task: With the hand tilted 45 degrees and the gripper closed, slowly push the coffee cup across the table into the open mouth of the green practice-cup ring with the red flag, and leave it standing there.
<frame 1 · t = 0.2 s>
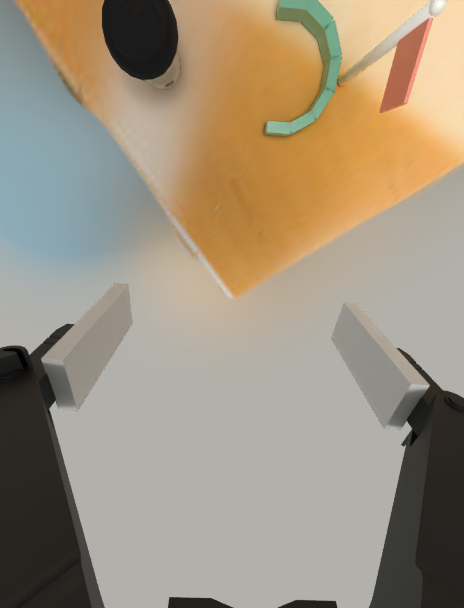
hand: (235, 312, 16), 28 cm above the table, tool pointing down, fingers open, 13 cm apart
coffee cup: (161, 66, 31), on the table
flag: (340, 81, 32), on the table
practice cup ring: (282, 76, 32), on the table
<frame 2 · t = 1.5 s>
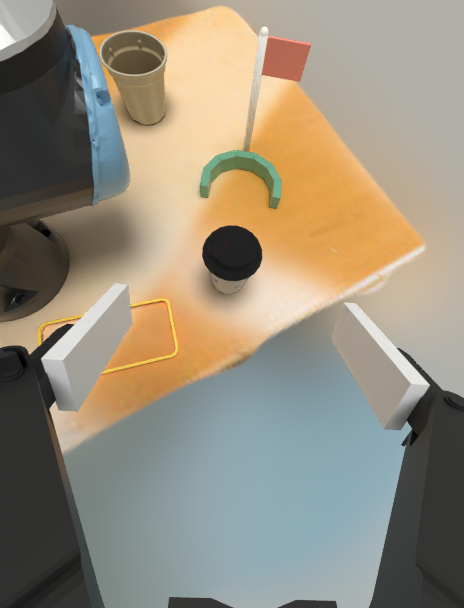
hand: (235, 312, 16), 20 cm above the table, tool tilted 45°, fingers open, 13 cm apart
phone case: (113, 340, 34), on the table
coffee cup: (228, 279, 37), on the table
flag: (244, 157, 43), on the table
flower pot: (148, 113, 45), on the table
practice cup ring: (239, 194, 41), on the table
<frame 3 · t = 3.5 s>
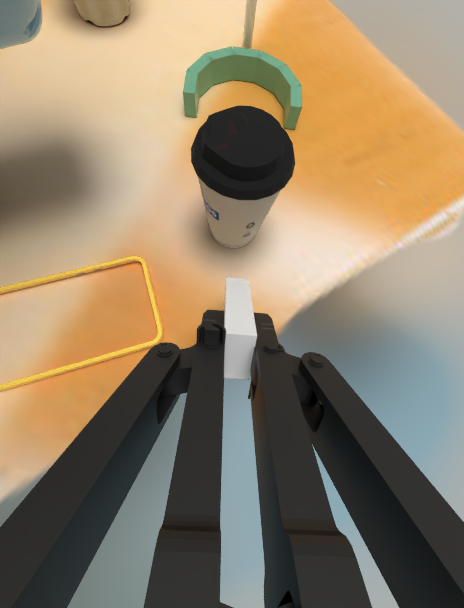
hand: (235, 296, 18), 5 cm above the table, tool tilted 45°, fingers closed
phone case: (59, 326, 22), on the table
coffee cup: (233, 228, 25), on the table
flag: (244, 66, 31), on the table
flower pot: (106, 13, 32), on the table
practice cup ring: (241, 112, 29), on the table
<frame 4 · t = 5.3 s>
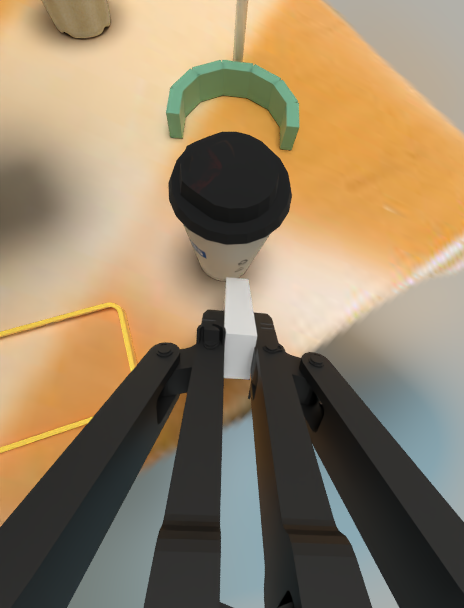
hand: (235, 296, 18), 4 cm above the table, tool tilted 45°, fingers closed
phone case: (24, 385, 19), on the table
coffee cup: (224, 257, 23), on the table, touching gripper
flag: (236, 80, 28), on the table
flower pot: (85, 24, 29), on the table
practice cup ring: (232, 132, 26), on the table
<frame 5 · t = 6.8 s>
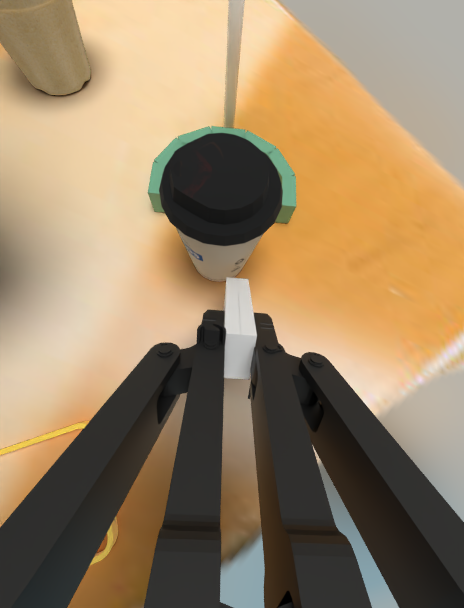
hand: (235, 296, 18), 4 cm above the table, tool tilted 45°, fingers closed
coffee cup: (218, 258, 23), on the table, touching gripper
flag: (227, 140, 26), on the table
flower pot: (63, 77, 27), on the table
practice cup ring: (223, 203, 24), on the table
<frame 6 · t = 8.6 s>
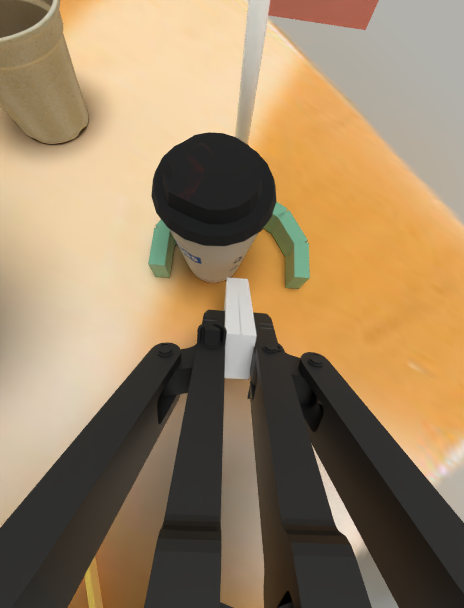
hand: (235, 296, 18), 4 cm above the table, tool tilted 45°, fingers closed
coffee cup: (213, 259, 22), on the table, touching gripper, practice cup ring
flag: (234, 194, 24), on the table
flower pot: (58, 122, 25), on the table
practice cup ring: (229, 266, 22), on the table
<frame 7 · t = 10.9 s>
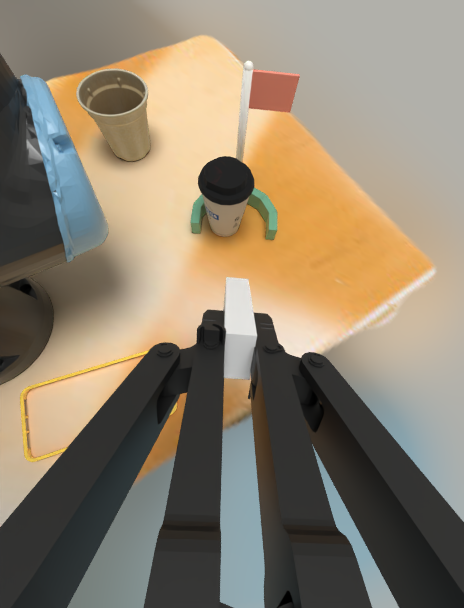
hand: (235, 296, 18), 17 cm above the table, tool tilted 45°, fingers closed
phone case: (104, 400, 31), on the table
coffee cup: (224, 224, 39), on the table
flag: (236, 188, 41), on the table
flower pot: (132, 148, 43), on the table
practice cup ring: (233, 227, 39), on the table
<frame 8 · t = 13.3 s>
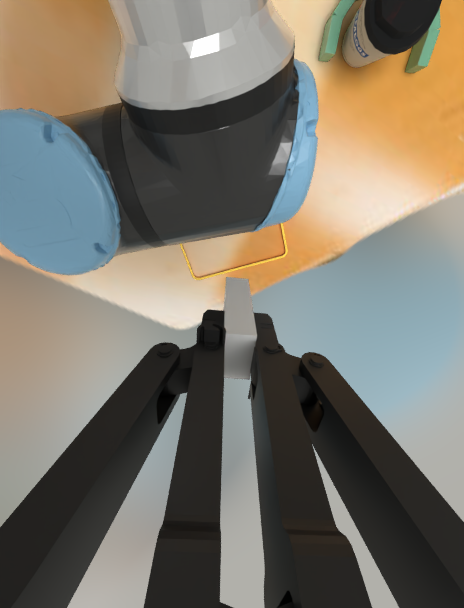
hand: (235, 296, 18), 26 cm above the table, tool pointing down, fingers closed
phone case: (233, 244, 43), on the table
coffee cup: (360, 43, 31), on the table
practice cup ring: (371, 50, 31), on the table
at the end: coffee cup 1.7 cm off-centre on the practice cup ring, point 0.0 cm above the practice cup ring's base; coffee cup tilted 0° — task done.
